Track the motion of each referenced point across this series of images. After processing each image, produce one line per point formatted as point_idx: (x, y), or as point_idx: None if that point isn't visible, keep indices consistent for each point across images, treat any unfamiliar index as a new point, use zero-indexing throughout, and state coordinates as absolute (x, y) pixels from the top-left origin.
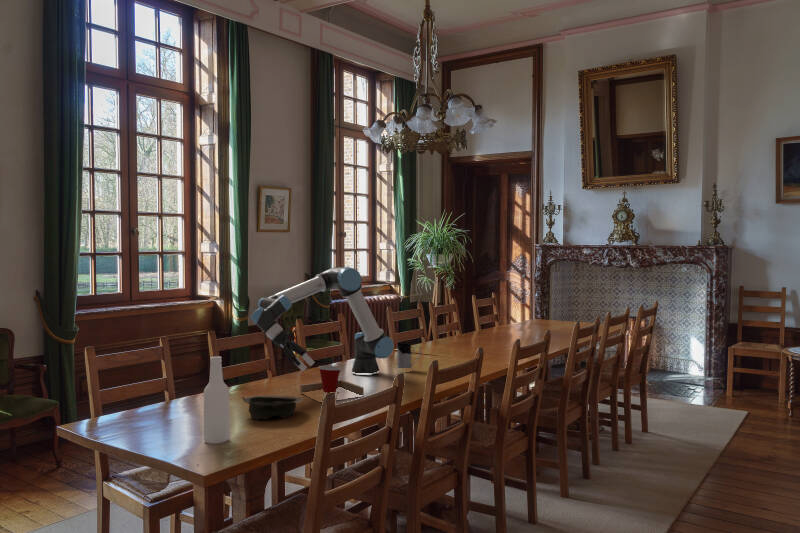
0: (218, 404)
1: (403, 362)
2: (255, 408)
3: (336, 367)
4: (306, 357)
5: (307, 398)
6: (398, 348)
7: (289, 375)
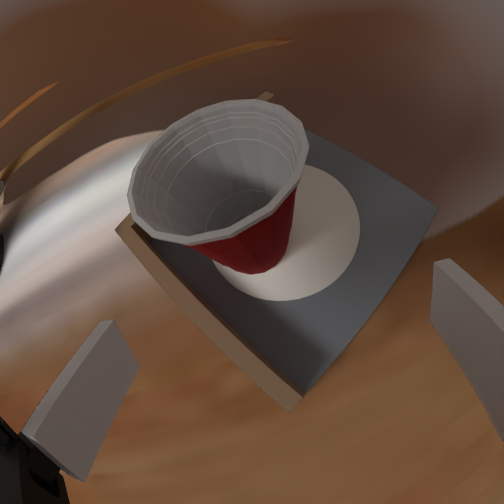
0: None
1: None
2: None
3: (150, 158)
4: (78, 415)
5: (379, 317)
6: None
7: None
